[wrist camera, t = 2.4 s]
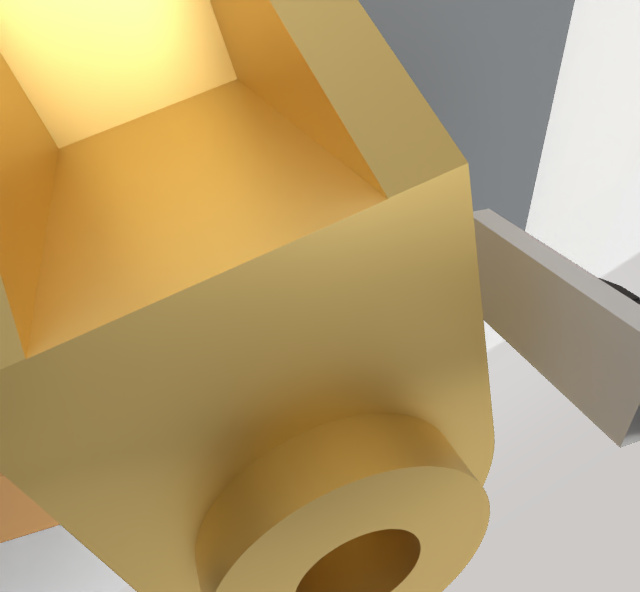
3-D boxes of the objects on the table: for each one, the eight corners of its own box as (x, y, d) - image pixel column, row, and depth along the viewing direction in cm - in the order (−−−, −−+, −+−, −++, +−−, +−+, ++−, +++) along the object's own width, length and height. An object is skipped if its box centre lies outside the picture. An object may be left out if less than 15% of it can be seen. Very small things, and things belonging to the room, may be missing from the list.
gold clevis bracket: (331, 290, 28) (536, 566, 15) (168, 365, 26) (241, 735, 14) (168, -220, 16) (507, -980, 3) (-147, -125, 14) (-1846, -736, 2)
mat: (320, 319, 28) (325, 327, 28) (310, -96, 18) (318, -97, 18) (505, 275, 32) (513, 281, 31) (580, -94, 22) (595, -96, 21)
